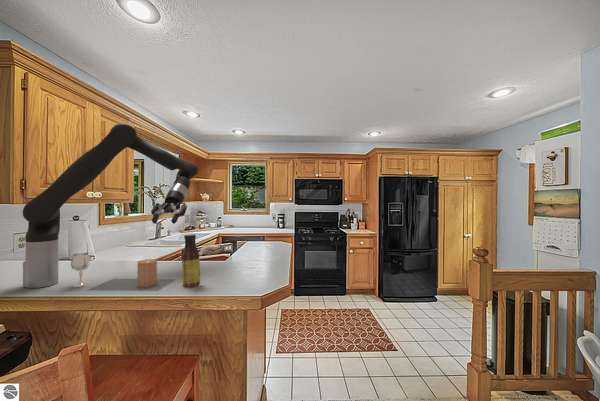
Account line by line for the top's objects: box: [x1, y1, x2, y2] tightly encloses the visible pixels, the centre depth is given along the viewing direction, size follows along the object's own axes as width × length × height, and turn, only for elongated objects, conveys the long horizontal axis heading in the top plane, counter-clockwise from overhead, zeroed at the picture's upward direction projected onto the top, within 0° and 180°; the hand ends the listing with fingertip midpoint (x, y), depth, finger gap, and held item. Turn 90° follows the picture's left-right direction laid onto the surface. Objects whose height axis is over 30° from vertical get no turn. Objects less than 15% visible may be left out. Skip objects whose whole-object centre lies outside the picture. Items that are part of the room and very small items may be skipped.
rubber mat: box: [87, 278, 177, 292], centre depth 104 cm, size 26×14×1 cm, turn 89°
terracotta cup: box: [137, 258, 158, 287], centre depth 104 cm, size 6×6×9 cm
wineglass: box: [70, 252, 91, 288], centre depth 104 cm, size 6×6×12 cm
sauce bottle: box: [181, 233, 201, 288], centre depth 103 cm, size 7×6×20 cm
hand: (163, 222), depth 114 cm, fingers open, 8 cm apart
